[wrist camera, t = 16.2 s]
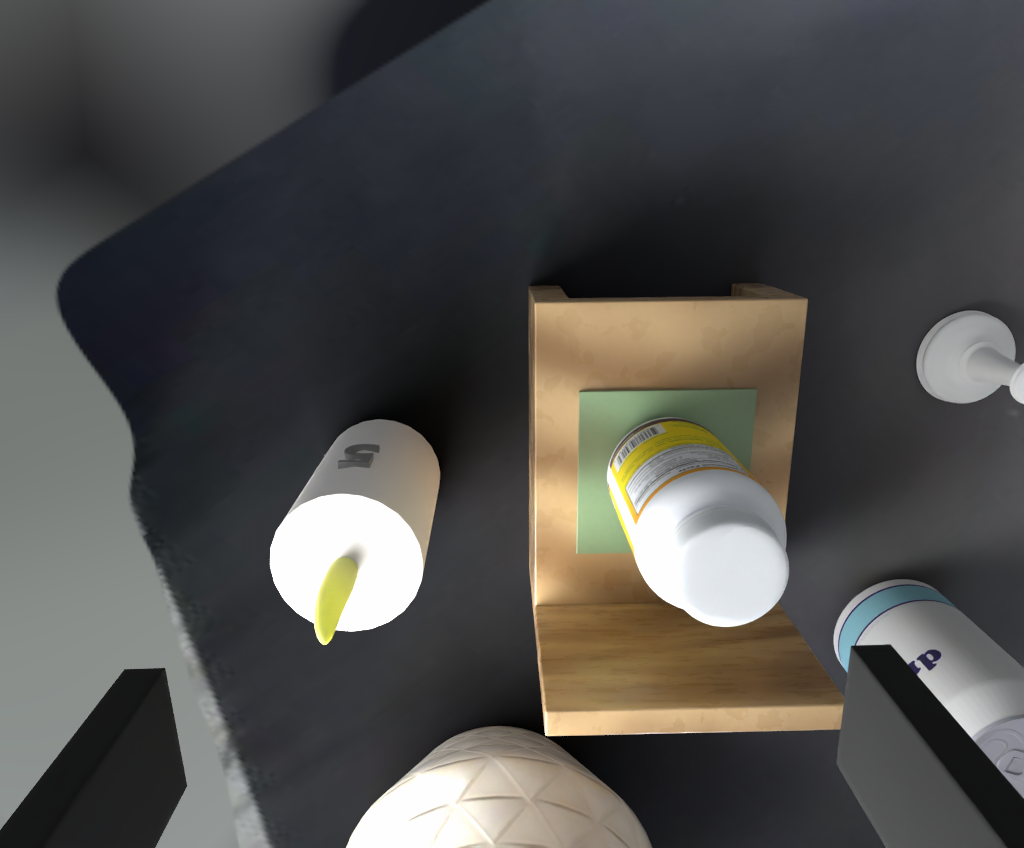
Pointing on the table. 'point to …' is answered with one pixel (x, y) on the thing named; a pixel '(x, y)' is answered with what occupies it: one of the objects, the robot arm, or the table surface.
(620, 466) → the supplement bottle
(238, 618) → the table surface
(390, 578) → the candle
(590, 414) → the shelf
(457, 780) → the vase
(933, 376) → the chess piece
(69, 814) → the robot arm
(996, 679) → the beverage can
